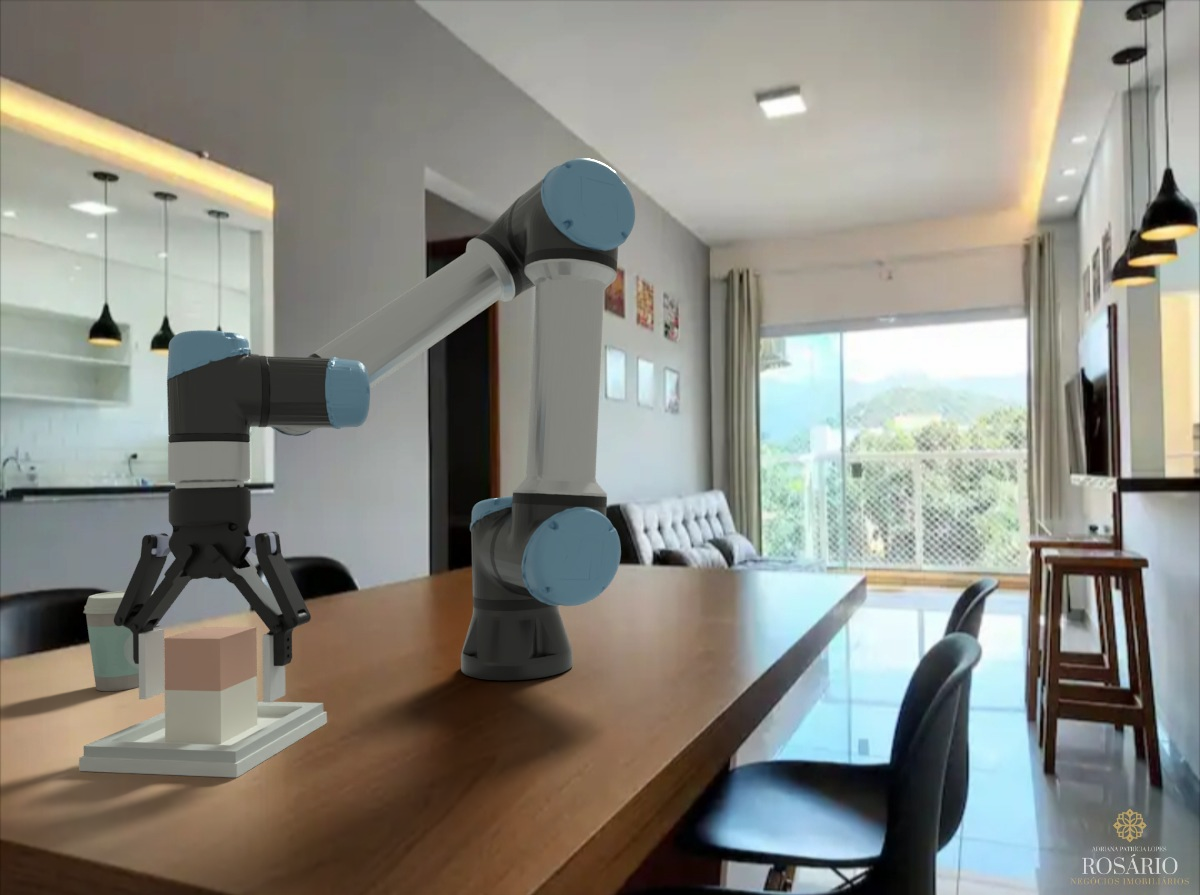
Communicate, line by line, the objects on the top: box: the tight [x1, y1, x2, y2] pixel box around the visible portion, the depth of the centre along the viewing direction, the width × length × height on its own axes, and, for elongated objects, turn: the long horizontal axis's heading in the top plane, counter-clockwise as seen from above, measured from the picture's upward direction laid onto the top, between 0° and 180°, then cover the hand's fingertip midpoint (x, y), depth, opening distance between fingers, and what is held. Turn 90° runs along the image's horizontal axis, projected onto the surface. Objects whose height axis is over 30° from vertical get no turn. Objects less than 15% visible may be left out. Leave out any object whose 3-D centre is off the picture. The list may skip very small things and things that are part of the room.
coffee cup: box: [82, 590, 154, 692], centre depth 108 cm, size 8×8×12 cm
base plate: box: [78, 700, 328, 778], centre depth 82 cm, size 16×16×2 cm
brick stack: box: [164, 626, 258, 744], centre depth 82 cm, size 6×6×10 cm
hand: (212, 697), depth 82 cm, fingers open, 13 cm apart
